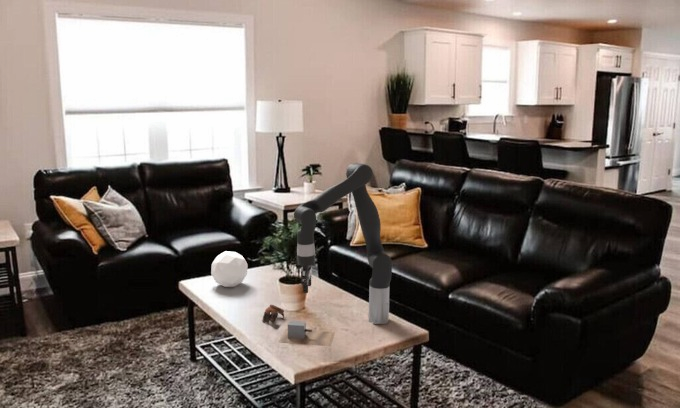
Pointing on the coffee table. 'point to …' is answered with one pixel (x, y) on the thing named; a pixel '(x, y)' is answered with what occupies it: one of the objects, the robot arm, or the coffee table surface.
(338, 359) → the coffee table surface
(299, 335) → the plug housing
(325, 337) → the header board
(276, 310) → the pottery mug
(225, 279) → the geometric orb
